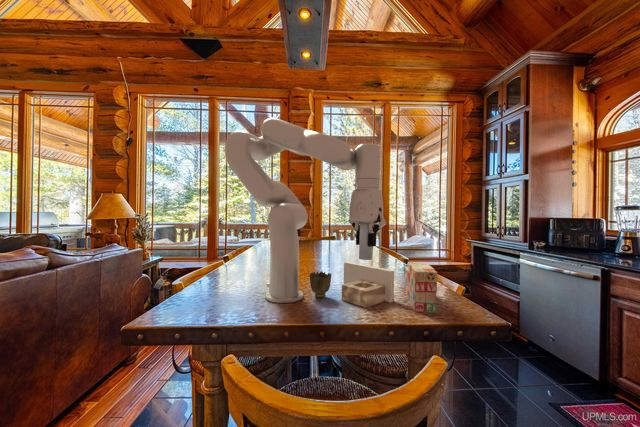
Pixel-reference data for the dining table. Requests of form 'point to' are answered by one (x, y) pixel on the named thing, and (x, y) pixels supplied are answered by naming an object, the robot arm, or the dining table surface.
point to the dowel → (364, 243)
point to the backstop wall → (370, 277)
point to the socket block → (363, 293)
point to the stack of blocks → (421, 287)
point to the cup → (320, 283)
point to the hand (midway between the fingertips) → (365, 244)
